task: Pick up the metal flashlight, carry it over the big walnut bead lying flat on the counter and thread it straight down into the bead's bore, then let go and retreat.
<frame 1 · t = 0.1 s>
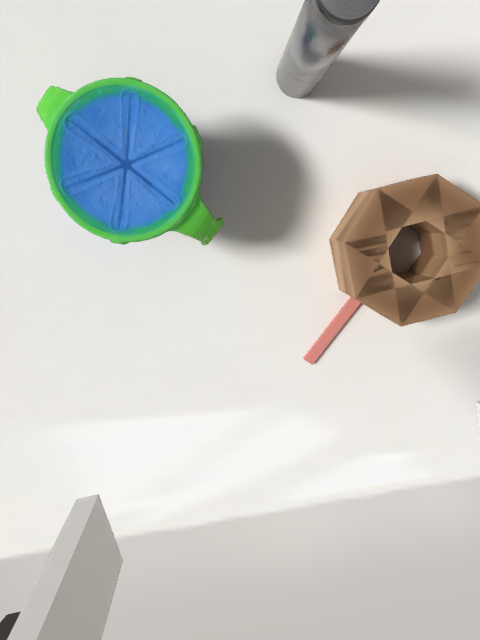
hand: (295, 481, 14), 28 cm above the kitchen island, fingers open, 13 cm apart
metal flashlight: (296, 75, 37), on the kitchen island
snack cup: (148, 177, 38), on the kitchen island
pink stick: (344, 313, 42), on the kitchen island
bead: (394, 249, 41), on the kitchen island
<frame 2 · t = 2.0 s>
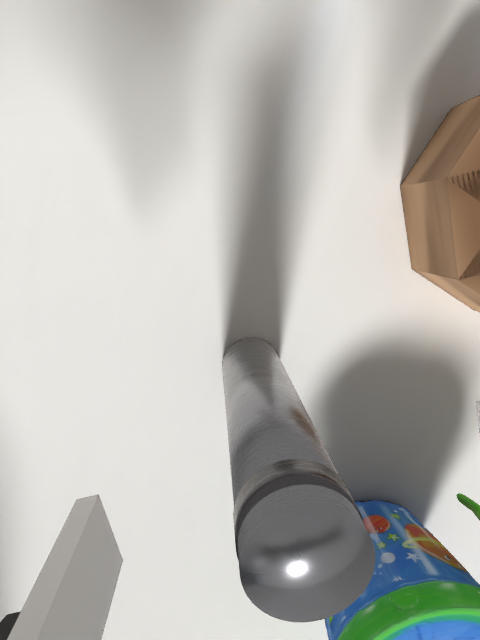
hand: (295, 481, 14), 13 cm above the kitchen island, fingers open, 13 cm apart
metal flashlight: (250, 365, 27), on the kitchen island
snack cup: (365, 539, 30), on the kitchen island
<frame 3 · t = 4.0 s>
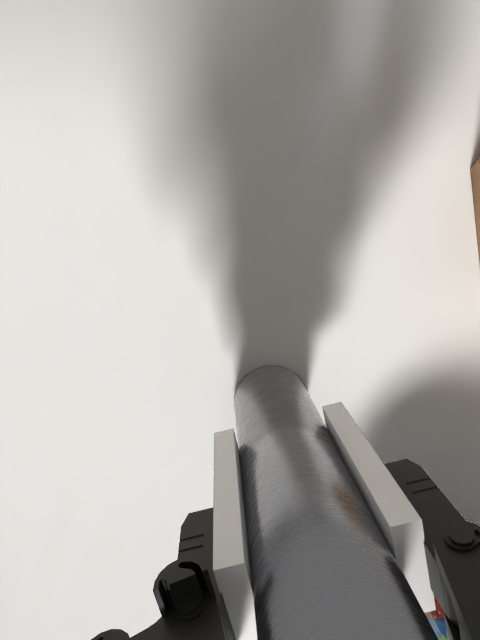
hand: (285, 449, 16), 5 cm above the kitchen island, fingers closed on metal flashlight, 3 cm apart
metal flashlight: (270, 400, 21), on the kitchen island, touching gripper
snack cup: (409, 608, 25), on the kitchen island
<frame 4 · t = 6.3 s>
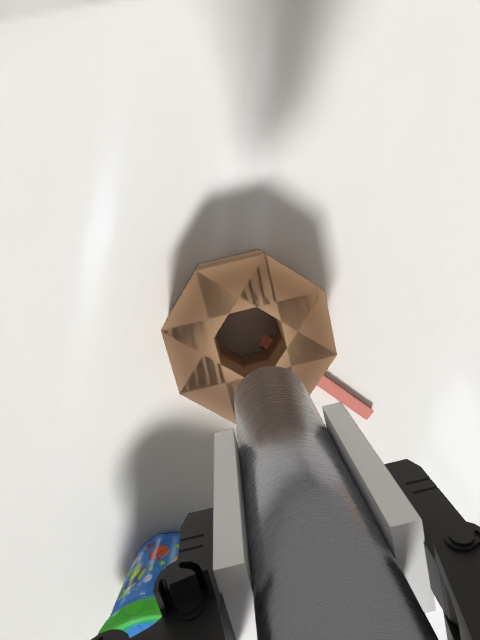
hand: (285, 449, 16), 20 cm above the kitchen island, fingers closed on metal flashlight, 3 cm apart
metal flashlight: (270, 400, 21), point 15 cm above the kitchen island, touching gripper
snack cup: (174, 560, 41), on the kitchen island
pink stick: (316, 377, 37), on the kitchen island
bead: (245, 326, 36), on the kitchen island
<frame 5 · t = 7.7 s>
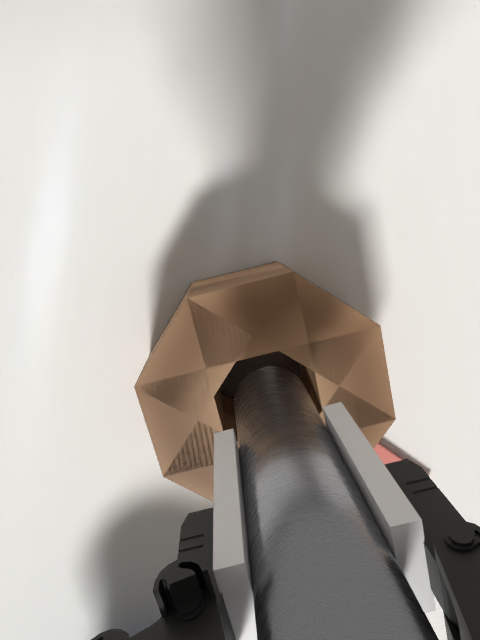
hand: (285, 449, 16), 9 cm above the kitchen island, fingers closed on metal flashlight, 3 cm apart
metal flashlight: (270, 400, 21), point 5 cm above the kitchen island, touching gripper
pink stick: (355, 436, 27), on the kitchen island
bead: (258, 368, 25), on the kitchen island
when the fingers open (7 cm above the kitchen island, at t = 8.7 s): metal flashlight drops 2 cm, resting in bead.
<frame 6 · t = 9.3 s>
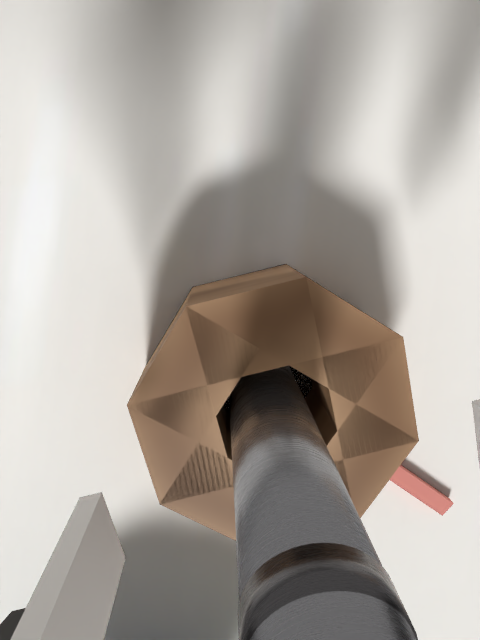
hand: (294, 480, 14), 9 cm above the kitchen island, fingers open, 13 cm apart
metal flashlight: (260, 382, 23), resting in bead
pink stick: (370, 453, 25), on the kitchen island
bead: (264, 380, 23), on the kitchen island
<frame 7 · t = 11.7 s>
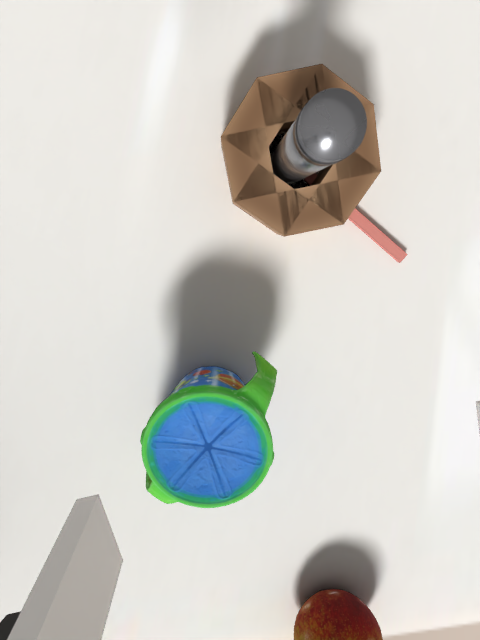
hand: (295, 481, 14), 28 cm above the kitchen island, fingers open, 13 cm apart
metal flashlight: (290, 162, 38), resting in bead
snack cup: (211, 397, 44), on the kitchen island
pink stick: (355, 217, 40), on the kitchen island
bead: (292, 161, 38), on the kitchen island
fruit: (328, 605, 50), on the kitchen island
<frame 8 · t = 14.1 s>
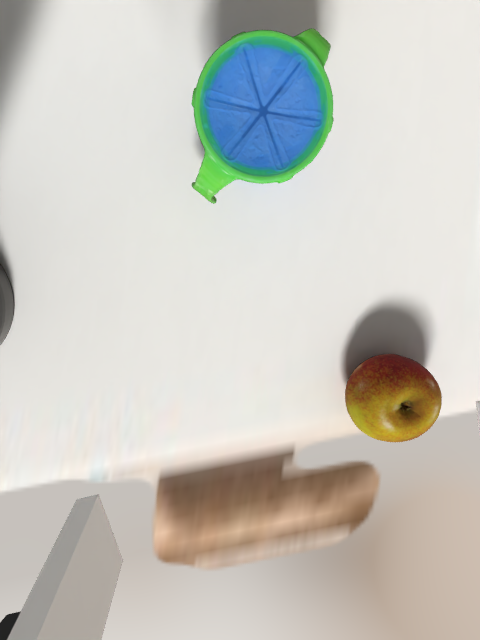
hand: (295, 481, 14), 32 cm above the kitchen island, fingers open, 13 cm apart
snack cup: (252, 134, 42), on the kitchen island
fruit: (377, 383, 48), on the kitchen island
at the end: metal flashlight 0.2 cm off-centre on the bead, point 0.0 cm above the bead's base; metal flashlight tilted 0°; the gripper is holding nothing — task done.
